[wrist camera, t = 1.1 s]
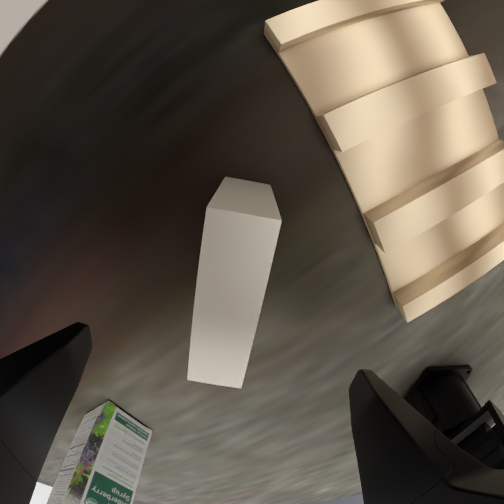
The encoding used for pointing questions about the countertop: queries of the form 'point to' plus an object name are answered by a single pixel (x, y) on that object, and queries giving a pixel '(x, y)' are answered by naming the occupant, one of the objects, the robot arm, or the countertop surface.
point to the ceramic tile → (232, 280)
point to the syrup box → (103, 459)
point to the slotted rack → (405, 136)
